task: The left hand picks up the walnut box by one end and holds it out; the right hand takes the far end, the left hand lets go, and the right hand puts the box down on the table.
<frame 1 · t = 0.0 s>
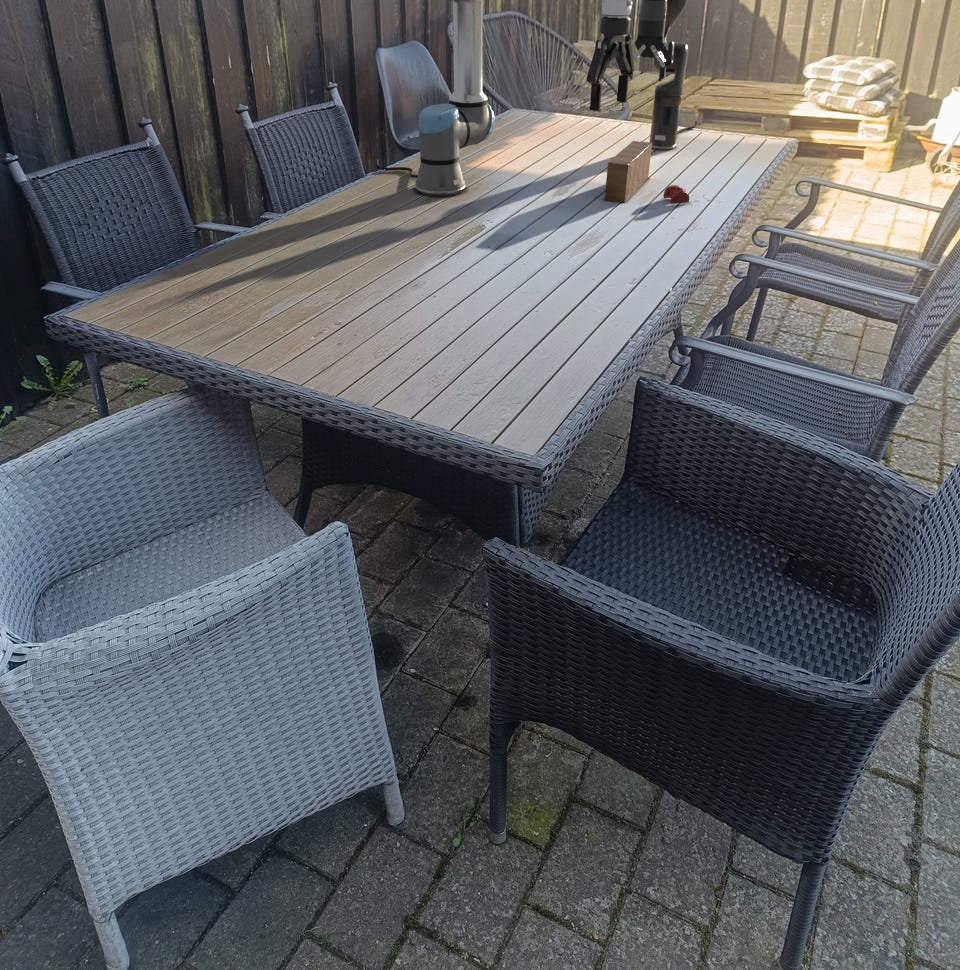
left hand: (608, 106, 226), 28 cm above the table, tool pointing down, fingers open, 13 cm apart
right hand: (645, 79, 249), 29 cm above the table, tool pointing down, fingers open, 8 cm apart
box: (627, 188, 259), on the table
dental model: (675, 201, 249), on the table
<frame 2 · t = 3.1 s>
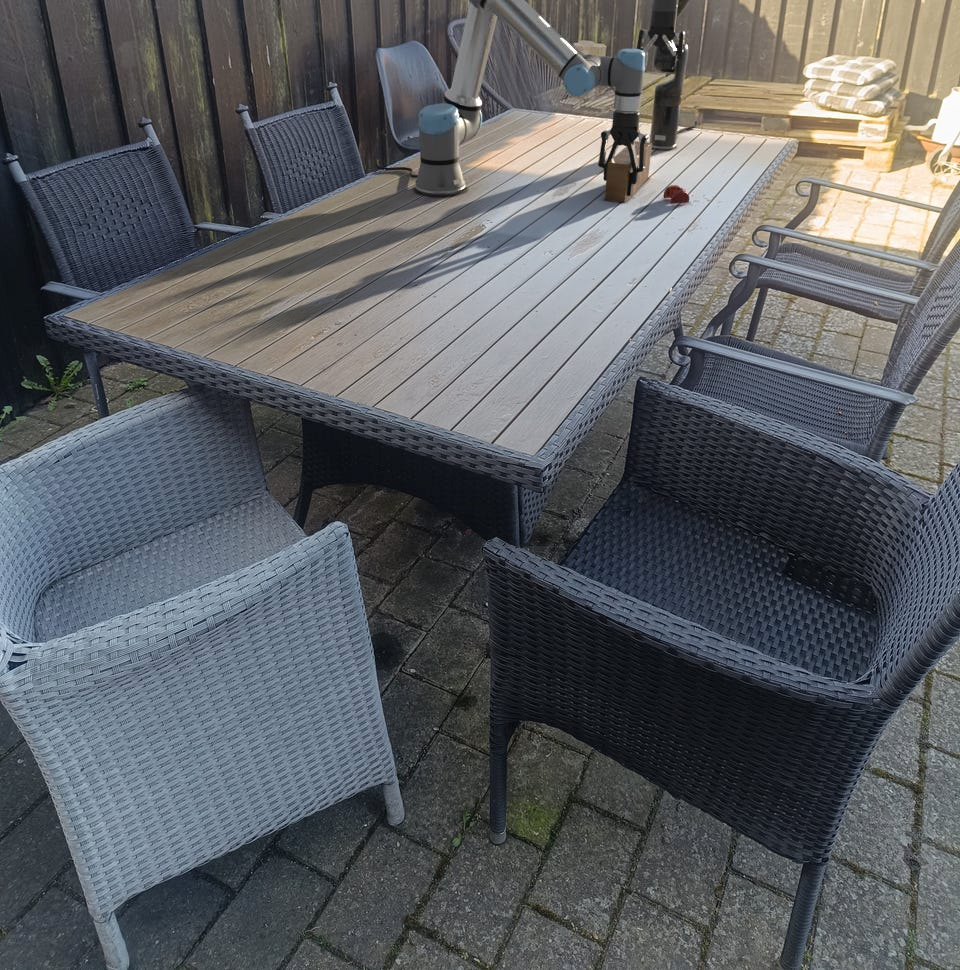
left hand: (619, 193, 252), 1 cm above the table, tool pointing down, fingers closed on box, 6 cm apart
right hand: (658, 67, 263), 30 cm above the table, tool pointing down, fingers open, 8 cm apart
box: (627, 188, 259), on the table, touching left hand
everything else where it was.
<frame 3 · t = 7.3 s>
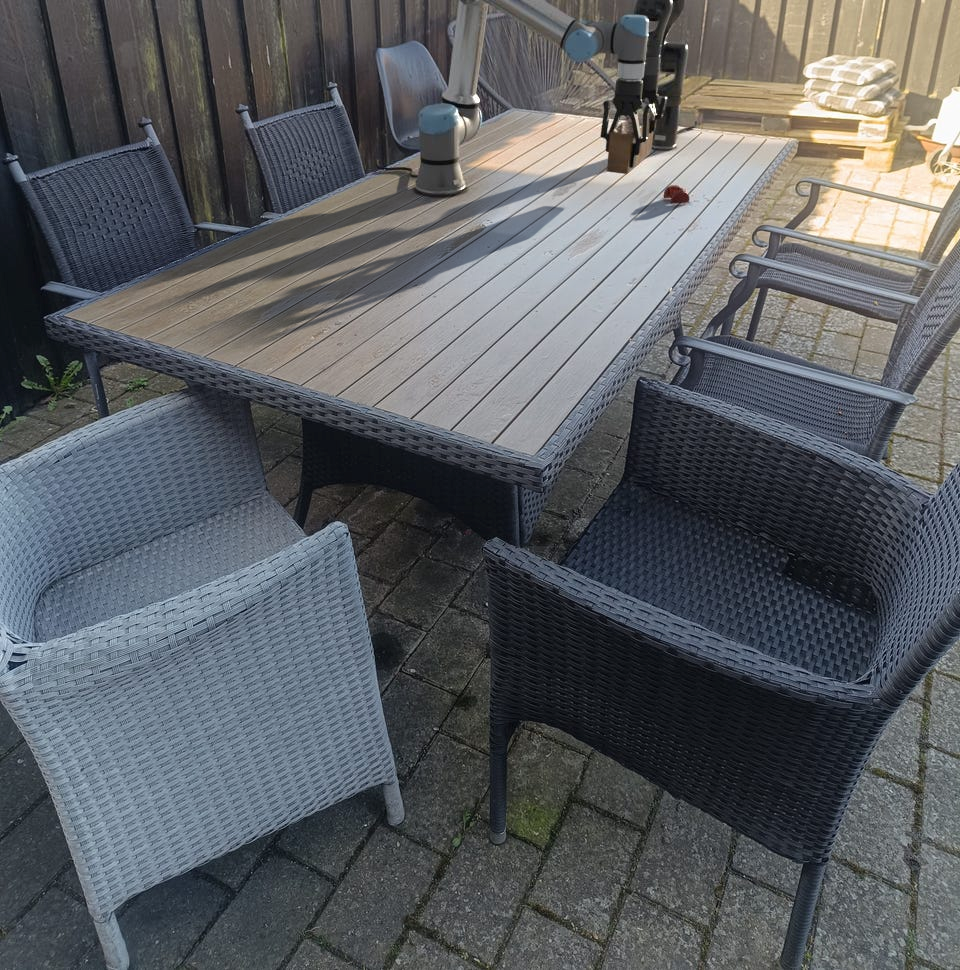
left hand: (621, 164, 247), 9 cm above the table, tool pointing down, fingers closed on box, 6 cm apart
right hand: (640, 131, 258), 15 cm above the table, tool pointing down, fingers closed on box, 6 cm apart
box: (629, 161, 254), point 8 cm above the table, touching left hand, right hand
everything else where it was.
when the left hand's fingers open (9 cm above the table, at t = 8.3 s): box stays where it is, held by the right hand.
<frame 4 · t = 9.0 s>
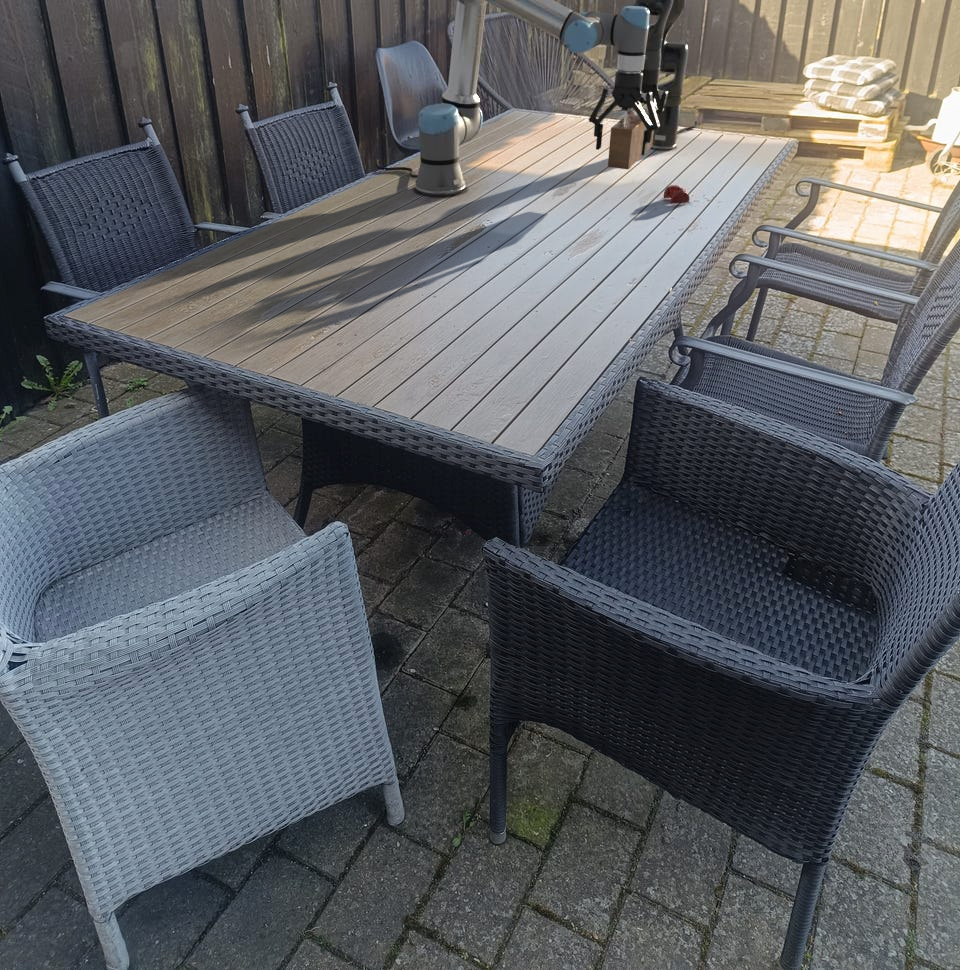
left hand: (620, 151, 244), 13 cm above the table, tool pointing down, fingers open, 13 cm apart
right hand: (641, 126, 257), 16 cm above the table, tool pointing down, fingers closed on box, 6 cm apart
box: (630, 156, 254), point 10 cm above the table, touching right hand
everything else where it was.
when the right hand's fingers open (8 cm above the table, at t = 14.6 s): box drops 1 cm, on the table.
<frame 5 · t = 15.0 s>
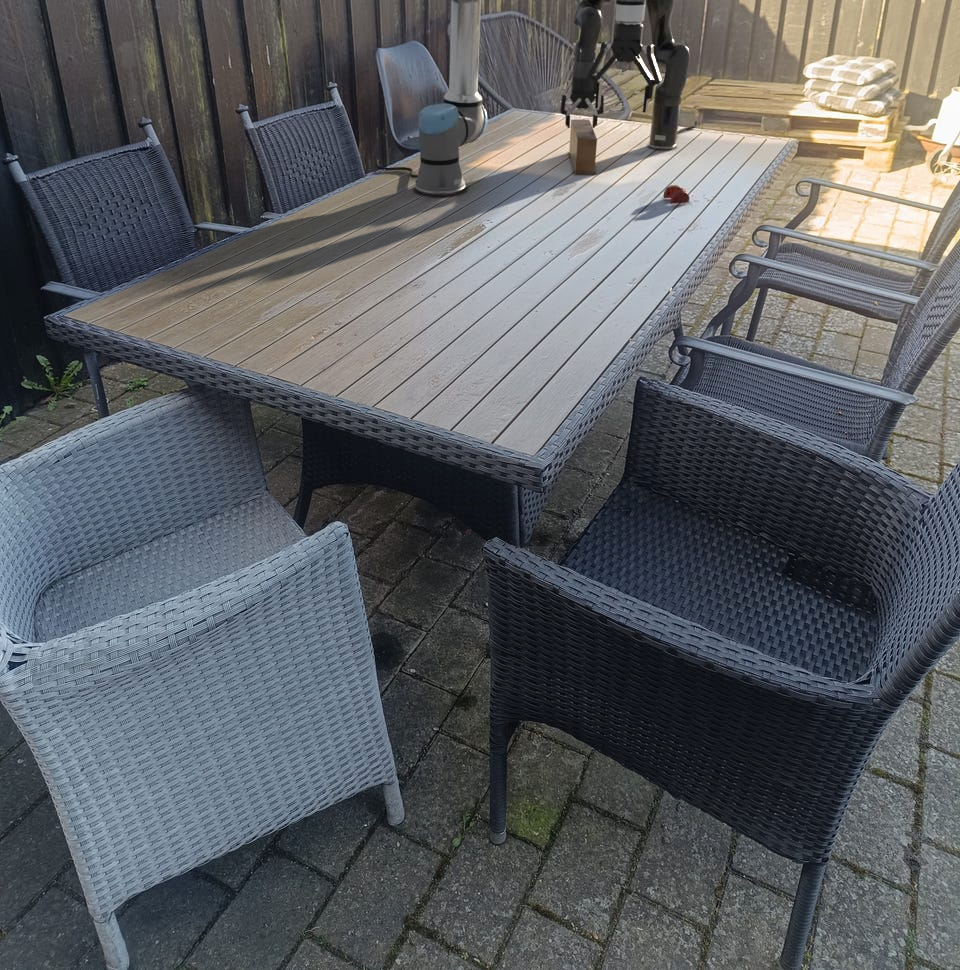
left hand: (621, 109, 233), 26 cm above the table, tool pointing down, fingers open, 13 cm apart
right hand: (580, 127, 285), 9 cm above the table, tool pointing down, fingers open, 8 cm apart
box: (581, 163, 283), on the table
everything else where it was.
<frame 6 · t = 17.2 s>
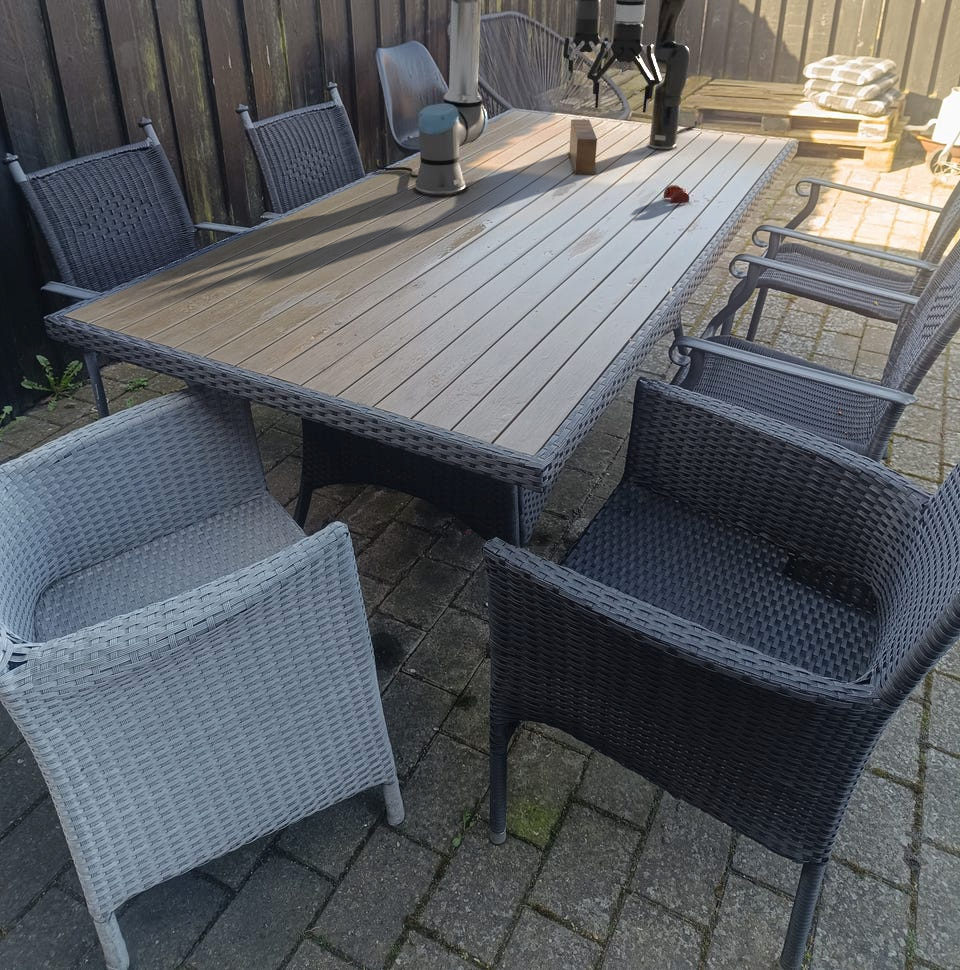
left hand: (621, 109, 233), 26 cm above the table, tool pointing down, fingers open, 13 cm apart
right hand: (584, 72, 275), 26 cm above the table, tool pointing down, fingers open, 8 cm apart
nothing on the table moved.
at the end: box inside the target area (9.1 cm from its centre), on the table; the left hand is holding nothing; the right hand is holding nothing; box at rest at the end (0.0 cm/s) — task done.
